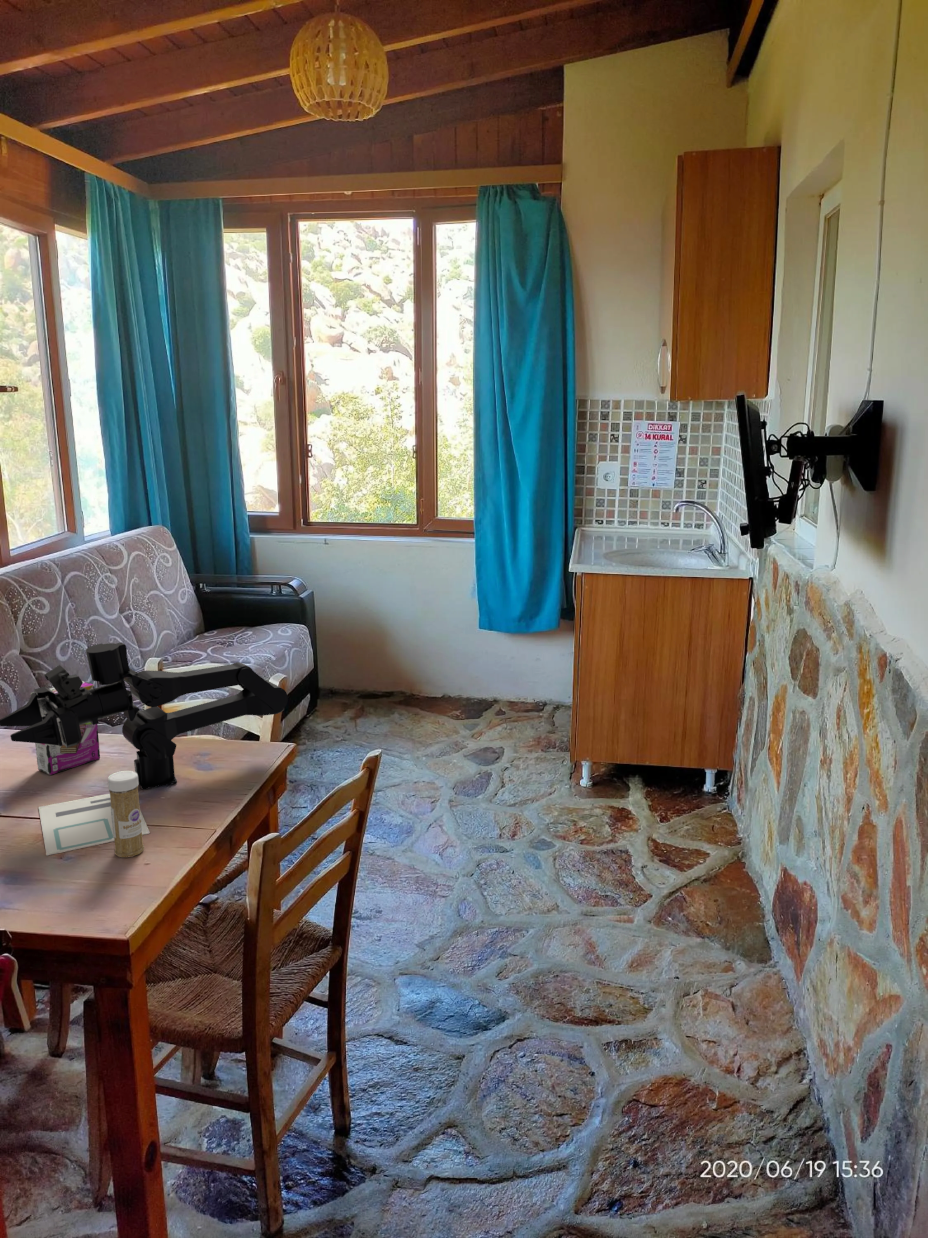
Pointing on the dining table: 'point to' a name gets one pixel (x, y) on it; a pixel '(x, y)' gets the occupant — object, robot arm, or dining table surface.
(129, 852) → the sprinkles bottle
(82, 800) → the paper sheet
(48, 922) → the dining table surface
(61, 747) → the candy bar box
